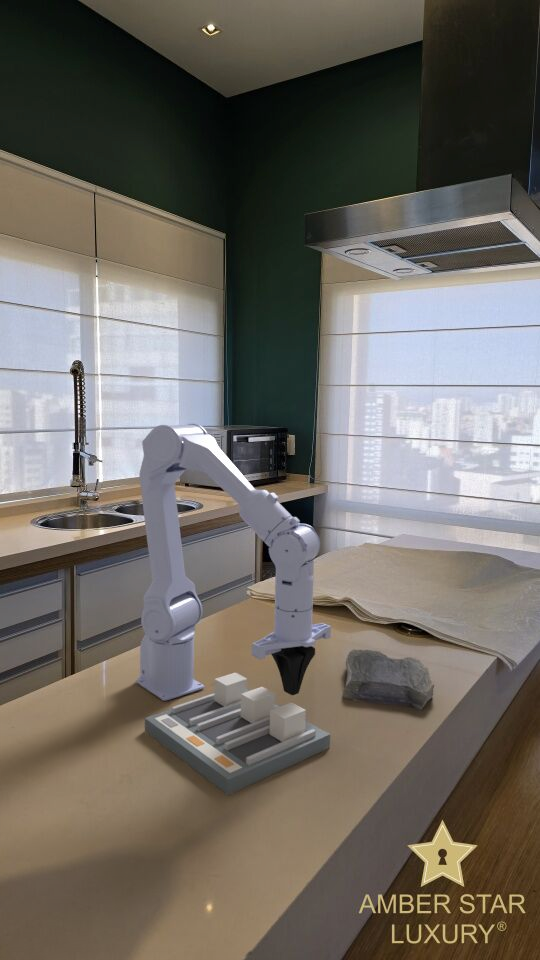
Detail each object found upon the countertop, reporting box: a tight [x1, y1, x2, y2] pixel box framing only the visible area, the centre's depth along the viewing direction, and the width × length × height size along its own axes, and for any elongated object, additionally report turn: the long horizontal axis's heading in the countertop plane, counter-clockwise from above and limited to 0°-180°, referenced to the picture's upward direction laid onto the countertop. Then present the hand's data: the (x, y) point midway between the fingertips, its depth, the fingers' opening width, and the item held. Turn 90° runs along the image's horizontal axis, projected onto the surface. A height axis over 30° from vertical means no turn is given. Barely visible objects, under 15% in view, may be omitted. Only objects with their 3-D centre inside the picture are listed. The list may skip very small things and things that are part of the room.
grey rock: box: [342, 648, 435, 711], centre depth 114 cm, size 15×16×4 cm
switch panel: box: [144, 688, 331, 796], centre depth 95 cm, size 20×18×3 cm
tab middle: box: [241, 686, 276, 723], centre depth 97 cm, size 3×4×4 cm
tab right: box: [269, 701, 307, 742], centre depth 93 cm, size 3×4×4 cm
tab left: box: [213, 671, 248, 707], centre depth 102 cm, size 3×4×4 cm
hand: (291, 692), depth 102 cm, fingers closed
